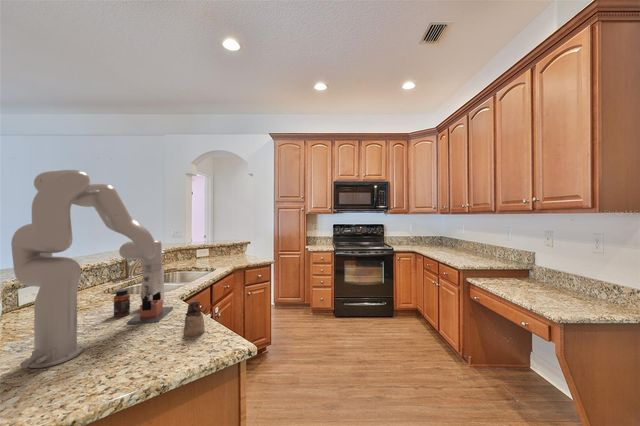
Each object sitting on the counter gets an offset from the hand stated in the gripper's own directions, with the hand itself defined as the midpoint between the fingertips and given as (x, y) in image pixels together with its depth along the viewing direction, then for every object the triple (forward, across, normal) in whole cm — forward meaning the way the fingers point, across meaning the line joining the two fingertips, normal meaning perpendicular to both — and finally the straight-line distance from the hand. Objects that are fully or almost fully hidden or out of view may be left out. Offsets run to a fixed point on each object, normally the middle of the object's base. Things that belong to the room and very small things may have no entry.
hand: (151, 306), depth 116 cm
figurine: (+5, -22, -24) cm, 33 cm away
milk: (+4, +17, +6) cm, 19 cm away
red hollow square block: (+3, 0, 0) cm, 3 cm away
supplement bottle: (+4, +4, +14) cm, 15 cm away
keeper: (+4, 0, 0) cm, 4 cm away
